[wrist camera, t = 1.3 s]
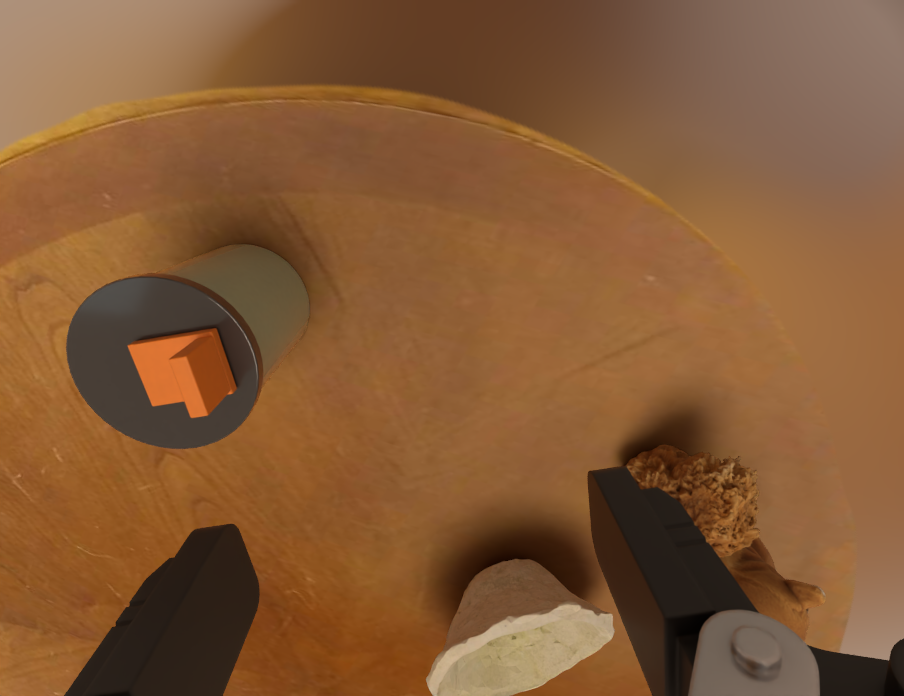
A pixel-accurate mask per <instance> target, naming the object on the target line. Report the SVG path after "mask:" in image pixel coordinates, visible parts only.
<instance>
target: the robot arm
mask: <svg viewBox="0 0 904 696" xmlns="http://www.w3.org/2000/svg"><path fill="white" fill-rule="evenodd" d="M588 492H589V505H590V518H591V531H592V538H593V543H594V548H595V552H596V555H597V559H598V562H599V564H600V567H601V569H602V572H603V574H604V577H605V579H606V582H607V584H608V587H609V589H610V591H611V594H612V596H613V599H614V601H615V604H616V606H617V609H618V611H619V614H620V616H621V619H622V621H623V624H624V626H625V629H626V631H627V634H628V636H629V639H630V641H631V643H632V646H633V648H634V651H635V653H636V656H637V658H638V661H639V663H640V666H641V668H642V671H643V673H644V676H645V678H646V681H647V683H648V686H649V688H650V691H651V693H652V695H653V696H904V639H902V640H900V641H899V642H897V643H896V644H895V645H894V647H893V649H892V651H891V654H890V660H889V661H888V660H882V659H875V658H868V657H861V656H855V655H849V654H842V653H836V652H830V651H825V650H821V649H818V648H815V647H811V646H809V645H806V643H805V642H804V641H803V640H802V639H801V638H800V637H799V636H798V635H797V634H796V633H795V632H793V631H792V630H791V629H790V628H788V627H787V626H785V625H784V624H782V623H780V622H779V621H777V620H775V619H773V618H771V617H769V616H766V615H763V614H760V613H759V612H758V610H757V609H756V608H755V607H754V605H753V604H752V602H751V601H750V600H749V598H748V597H747V595H746V594H745V593H744V591H743V590H742V588H741V587H740V586H739V584H738V583H737V581H736V580H735V579H734V577H733V576H732V574H731V573H730V572H729V570H728V569H727V567H726V566H725V565H724V563H723V562H722V560H721V559H720V558H719V556H718V555H717V553H716V552H715V551H714V549H713V548H712V546H711V545H710V544H709V543H707V542H706V538H705V537H704V535H703V534H702V532H701V531H700V530H699V528H698V527H697V526H695V525H694V521H693V520H692V518H691V517H690V516H689V514H688V513H687V511H686V510H685V509H684V507H683V506H682V504H681V503H680V502H679V501H677V500H676V499H675V498H673V497H672V496H670V495H669V494H667V493H666V492H664V491H663V490H661V489H660V488H658V487H654V488H648V489H640V487H639V486H638V484H637V483H636V481H635V479H634V478H633V476H632V475H631V473H630V471H629V470H628V468H627V467H626V466H620V467H613V468H607V469H600V470H593V471H589V472H588ZM258 603H259V583H258V579H257V576H256V573H255V570H254V568H253V565H252V563H251V560H250V557H249V555H248V552H247V549H246V547H245V544H244V541H243V539H242V536H241V534H240V531H239V529H238V528H237V526H236V525H234V524H226V525H220V526H213V527H206V528H200V529H195V530H194V531H192V532H191V534H190V535H189V536H188V538H187V539H186V541H185V542H184V544H183V545H182V547H181V548H180V550H179V551H178V553H177V554H176V556H175V557H174V558H169V559H168V560H167V561H166V562H165V563H164V564H162V565H161V566H160V567H159V568H158V569H157V570H156V571H155V572H153V573H152V574H151V575H150V576H149V577H148V578H147V579H146V580H145V581H144V583H143V584H142V585H141V587H140V588H139V590H138V591H137V593H136V594H135V595H134V597H133V598H132V600H131V601H130V606H129V607H126V608H125V610H124V611H123V613H122V614H121V615H120V617H119V618H118V620H117V621H116V626H115V627H112V628H111V630H110V631H109V633H108V634H107V635H106V637H105V638H104V640H103V641H102V642H101V644H100V645H99V647H98V648H97V650H96V651H95V652H94V654H93V655H92V657H91V658H90V660H89V661H88V662H87V664H86V665H85V667H84V668H83V670H82V671H81V672H80V674H79V675H78V677H77V678H76V680H75V681H74V682H73V684H72V685H71V687H70V688H69V690H68V691H67V692H66V694H65V695H64V696H223V693H224V691H225V688H226V686H227V683H228V681H229V678H230V676H231V673H232V671H233V668H234V666H235V663H236V661H237V659H238V656H239V654H240V651H241V649H242V646H243V644H244V641H245V639H246V636H247V634H248V631H249V629H250V626H251V624H252V621H253V619H254V616H255V614H256V611H257V608H258Z"/></svg>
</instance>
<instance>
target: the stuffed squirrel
mask: <svg viewBox="0 0 904 696" xmlns="http://www.w3.org/2000/svg"><path fill="white" fill-rule="evenodd" d="M730 458H731V457H730V456H729V458H728V460H727V459H724V460H723V461H724V462H723V463H722V464H721V461H720V460H719V459H716V458H715V457H714V456H711V455H710V453H703V452H701V453H697V454H696V455H694V456H691V457H690V456H689V455H687V453H684V452H683V451H681V450H680V449H679V448H675V447H673V446H670V445H659V446H658V447H657V448H655V449H653V450H652V451H648V452H646V451H645V452H642V453H641V454H638V456H637V457H635V458H632V459H630V460H629V462H628V464H626V467H627V468H628V470H629V471H630V473H631V475H632V476H633V478H634V479H635V481H636V483H637V484H638V486H639V487H640V489H648V488H654V487H658V488H660V489H661V490H663V491H664V492H666V493H667V494H669V495H670V496H672V497H673V498H675V499H676V500H677V501H679V502H680V503H681V504H682V506H683V507H684V509H685V510H686V511H687V513H688V514H689V516H690V517H691V518H692V520H693V521H694V525H695V526H697V527H698V528H699V530H700V531H701V532H702V534H703V535H704V537H705V538H706V542H707V543H709V544H710V545H711V546H712V548H713V549H714V551H715V552H716V553H717V555H718V556H719V558H720V559H721V560H722V562H723V563H724V565H725V566H726V567H727V569H728V570H729V572H730V573H731V574H732V576H733V577H734V579H735V580H736V581H737V583H738V584H739V586H740V587H741V588H742V590H743V591H744V593H745V594H746V595H747V597H748V598H749V600H750V601H751V602H752V604H753V605H754V607H755V608H756V609H757V610H758V612H759V613H760V614H763V615H766V616H769V617H771V618H773V619H775V620H777V621H779V622H780V623H782V624H784V625H785V626H787V627H788V628H790V629H791V630H792V631H793V632H795V633H796V634H797V635H798V636H799V637H800V638H801V639H802V640H803V641H804V642H805V638H806V634H807V630H808V628H809V618H808V608H812V607H816V606H820V605H822V604H824V602H825V594H824V592H823V591H822V589H821V588H820V587H818V586H815V585H810V584H807V583H803V582H798V581H795V580H785V579H784V578H783V577H782V576H781V575H780V574H778V573H777V571H776V570H775V567H774V562H773V560H772V557H771V555H770V553H769V552H768V550H767V549H766V547H765V546H764V545H763V543H762V542H761V540H760V539H759V532H760V530H759V529H758V528H753V527H754V525H755V524H756V521H757V520H755V516H756V515H757V514H758V513H759V510H758V508H757V505H756V503H757V500H756V498H757V497H758V496H759V490H757V489H756V485H757V484H756V482H755V481H756V479H757V475H755V474H756V473H757V471H756V470H755V471H753V470H751V469H750V468H745V467H744V466H740V464H739V461H740V460H741V456H738V458H736V459H735V461H734V459H730Z"/></svg>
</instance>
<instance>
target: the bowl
mask: <svg viewBox="0 0 904 696" xmlns="http://www.w3.org/2000/svg"><path fill="white" fill-rule="evenodd" d="M612 616H613V615H612V614H611V613H608V612H605V611H602V610H600V609H599V608H597V607H596V606H594V605H593V604H591V603H589V602H587V601H585V600H583V599H581V598H579V597H577V596H576V595H575V594H572V593H571V592H570V591H569V590H567V588H566V587H565V586H564V585H562V584H561V583H560V582H559V581H558V580H557V579H556V578H555V576H553V575H552V574H551V573H550V572H549V571H548V570H546V569H545V568H544V567H542V566H541V565H540V564H538V563H537V562H535V561H533V560H530V559H525V560H520V559H514V560H509V561H503V562H500V563H498V564H495V565H492V566H490V567H488V568H486V569H484V570H483V571H481V572H480V573H478V574H477V575H475V577H474V578H473V580H472V581H471V582H470V583H469V585H468V587H467V589H466V590H465V591H464V595H463V598H462V600H461V603H460V606H459V608H458V611H457V613H456V615H455V617H454V618H453V620H452V622H451V625H450V628H449V631H448V634H447V640H446V643H445V646H444V649H443V651H442V652H441V653H439V654H438V656H437V657H436V659H435V661H434V663H433V665H432V669H431V671H430V673H429V675H428V676H427V678H426V682H427V685H428V688H429V690H430V692H431V693H432V695H433V696H510V695H513V694H516V693H519V692H523V691H527V690H530V689H534V688H537V687H539V686H541V685H543V684H545V683H546V682H547V681H548V680H550V679H552V678H554V677H556V676H557V675H559V674H560V673H561V672H563V671H565V670H567V669H570V668H572V667H573V666H574V665H575V664H576V663H578V662H579V661H580V660H582V659H584V658H586V657H588V656H590V655H592V654H593V653H595V652H596V651H598V650H599V649H600V648H601V647H602V646H603V645H604V644H606V643H607V642H609V641H610V640H611V639H612V637H613V634H614V631H615V630H614V628H613V617H612Z"/></svg>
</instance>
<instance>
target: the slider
mask: <svg viewBox="0 0 904 696" xmlns="http://www.w3.org/2000/svg"><path fill="white" fill-rule="evenodd" d="M128 348H129V351H130V353H131V356H132V358H133V361H134V363H135V365H136V368H137V370H138V373H139V375H140V378H141V380H142V382H143V385H144V387H145V390H146V392H147V395H148V397H149V399H150V402H151V404H152V406H159V405H165V404H172V403H178V402H185V404H186V407H187V410H188V412H189V415H190V417H191V418H196V417H202V416H208V415H209V414H210V413H211V412H212V411H213V410H214V408H215V407H216V406H217V405H218V404H219V403H220V402H221V401H222V400H223V399H224V397H225V396H226V395H228V394H233V393H234V392H235V391H236V389H237V387H236V384H235V381H234V378H233V375H232V372H231V369H230V366H229V363H228V361H227V358H226V355H225V352H224V349H223V346H222V343H221V340H220V337H219V334H218V331H217V329H216V328H213V329H206V330H200V331H194V332H188V333H182V334H176V335H170V336H164V337H158V338H152V339H145V340H139V341H134V342H132V343H131V344H129V345H128Z"/></svg>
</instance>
